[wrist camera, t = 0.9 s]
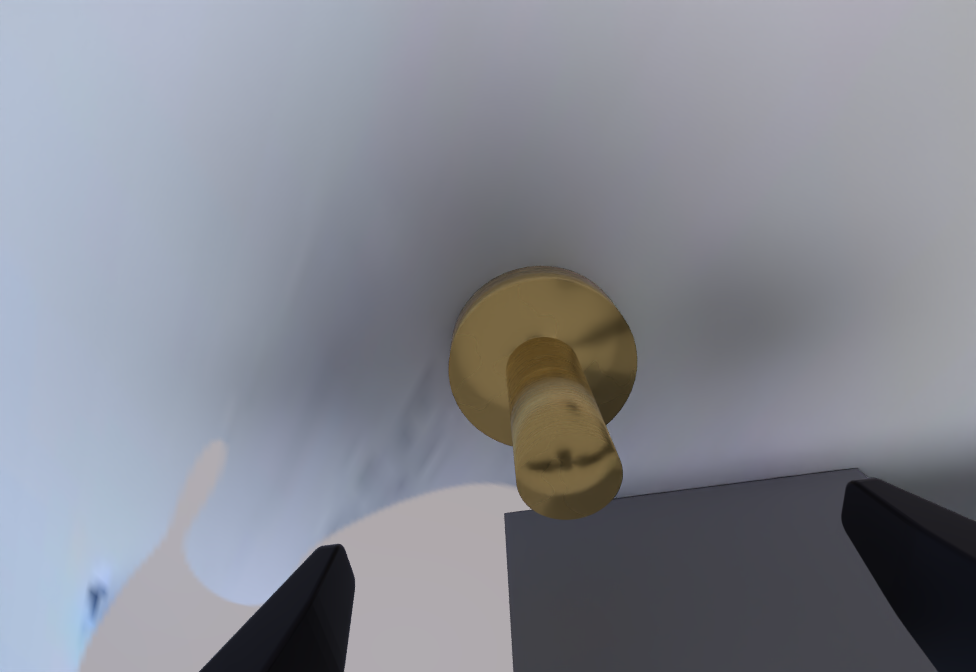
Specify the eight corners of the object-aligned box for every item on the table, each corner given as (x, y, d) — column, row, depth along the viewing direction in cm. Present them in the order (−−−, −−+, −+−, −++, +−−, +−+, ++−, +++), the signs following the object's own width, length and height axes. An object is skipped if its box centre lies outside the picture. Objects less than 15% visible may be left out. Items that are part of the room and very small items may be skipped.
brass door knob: (618, 252, 15) (708, 335, 9) (626, 410, 17) (703, 562, 11) (436, 280, 15) (408, 378, 9) (466, 432, 18) (459, 591, 12)
